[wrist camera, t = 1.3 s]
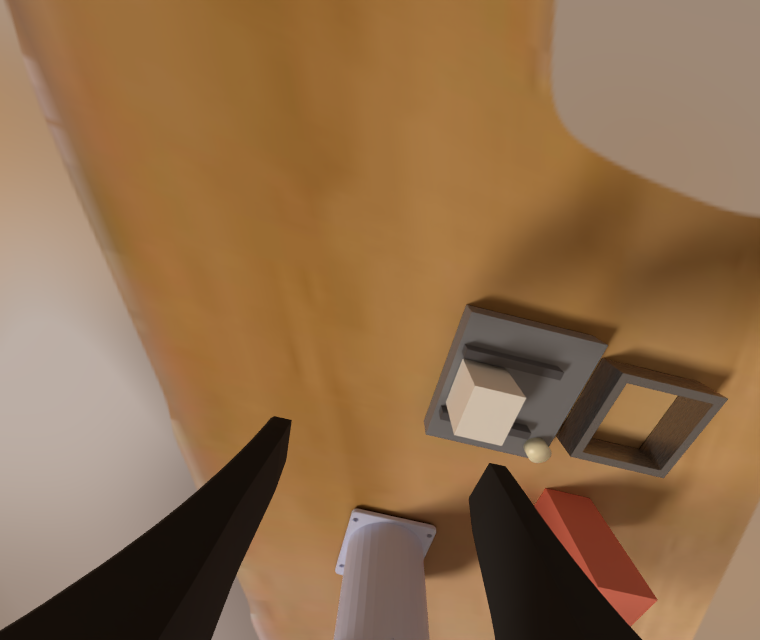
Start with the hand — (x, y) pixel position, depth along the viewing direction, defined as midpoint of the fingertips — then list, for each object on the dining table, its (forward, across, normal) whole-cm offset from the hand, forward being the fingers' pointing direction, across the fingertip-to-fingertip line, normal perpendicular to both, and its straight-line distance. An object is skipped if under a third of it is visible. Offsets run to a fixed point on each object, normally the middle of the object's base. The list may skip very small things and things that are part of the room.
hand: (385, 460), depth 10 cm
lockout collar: (+10, -18, +2) cm, 21 cm away
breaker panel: (+11, -9, +2) cm, 14 cm away
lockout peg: (+10, -18, +13) cm, 25 cm away
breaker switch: (+9, -6, +2) cm, 11 cm away
